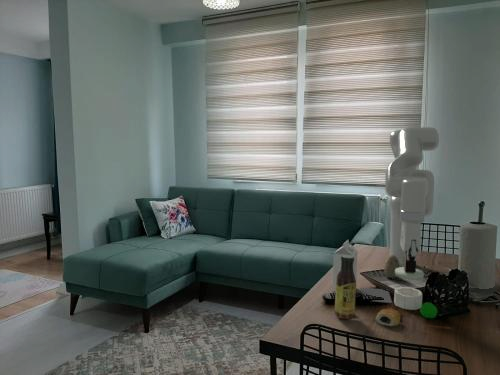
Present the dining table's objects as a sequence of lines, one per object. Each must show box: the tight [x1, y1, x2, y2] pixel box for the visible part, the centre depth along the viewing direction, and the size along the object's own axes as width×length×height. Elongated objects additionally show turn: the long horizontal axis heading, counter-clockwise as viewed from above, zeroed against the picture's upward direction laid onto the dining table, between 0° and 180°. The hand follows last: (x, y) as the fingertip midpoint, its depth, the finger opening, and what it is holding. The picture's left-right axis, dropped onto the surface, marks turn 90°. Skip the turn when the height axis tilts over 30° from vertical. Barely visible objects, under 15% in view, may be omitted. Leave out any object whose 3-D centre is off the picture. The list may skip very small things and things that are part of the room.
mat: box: [359, 287, 393, 304], centre depth 146 cm, size 12×10×1 cm
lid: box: [395, 253, 425, 281], centre depth 136 cm, size 9×9×7 cm
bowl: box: [393, 286, 423, 311], centre depth 138 cm, size 8×8×5 cm
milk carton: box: [332, 239, 358, 293], centre depth 150 cm, size 7×7×19 cm
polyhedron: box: [419, 302, 438, 319], centre depth 129 cm, size 5×5×5 cm
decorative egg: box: [384, 255, 400, 280], centre depth 162 cm, size 6×6×10 cm
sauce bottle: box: [334, 255, 357, 320], centre depth 130 cm, size 6×6×20 cm
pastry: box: [374, 307, 401, 327], centre depth 128 cm, size 9×7×4 cm
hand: (409, 269), depth 137 cm, fingers closed on lid, 3 cm apart
